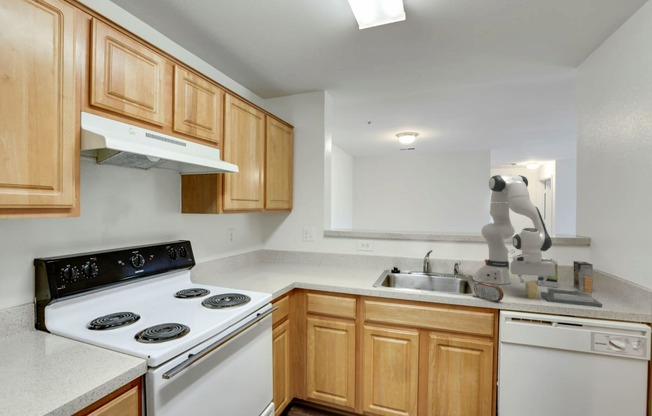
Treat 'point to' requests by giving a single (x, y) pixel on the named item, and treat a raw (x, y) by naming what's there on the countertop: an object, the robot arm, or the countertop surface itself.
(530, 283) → the brass block
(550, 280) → the tea box
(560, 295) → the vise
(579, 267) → the coffee box
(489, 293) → the tin
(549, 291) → the sliding jaw
